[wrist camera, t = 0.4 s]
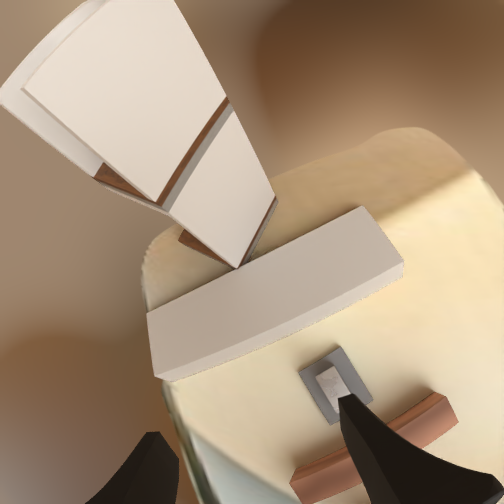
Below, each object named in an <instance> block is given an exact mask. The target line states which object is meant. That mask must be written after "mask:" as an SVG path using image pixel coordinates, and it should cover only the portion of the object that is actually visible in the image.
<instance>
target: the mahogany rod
mask: <svg viewBox="0 0 504 504" xmlns="http://www.w3.org/2000/svg"><path fill="white" fill-rule="evenodd" d="M457 423H459V422H458V420H457V417H456V415H455V413H454V411H453V409H452V407H451V405H450V403H449V401H448V399H447V397H446V396H444V395H441V394H439V393H436V392H433V393H432V394H431V395H429V396H428V397H426V398H425V399H424V400H422V401H421V402H419V403H418V404H417V405H415V406H414V407H412V408H411V409H409V410H408V411H406V412H405V413H403V414H402V415H400V416H399V417H397V418H395V419H394V420H392V421H391V422H389V423H387V424H386V425H387V426H388V427H390V428H391V429H392V430H393V431H395V432H396V433H397V434H399V435H400V436H402V437H403V438H404V439H406V440H407V441H409V442H410V443H412V444H413V445H415V446H417V447H419V448H420V449H422V448H424V447H425V446H427V445H428V444H430V443H431V442H433V441H434V440H436V439H437V438H438V437H440V436H441V435H443V434H444V433H445V432H447V431H448V430H449V429H451V428H452V427H453V426H455V425H456V424H457ZM360 483H362V479H361V477H360V475H359V473H358V471H357V469H356V467H355V465H354V462H353V460H352V458H351V456H350V454H349V452H348V449H347V446H346V447H344V448H342V449H340V450H338V451H336V452H334V453H332V454H330V455H328V456H326V457H323V458H321V459H319V460H317V461H315V462H312V463H310V464H308V465H305V466H303V467H300V468H298V469H296V470H295V472H294V474H293V476H292V479H291V481H290V483H289V484H290V485H291V487H292V488H293V490H294V491H295V493H296V495H297V496H298V498H299V499H300V501H301V502H302V504H313V503H315V502H318V501H321V500H323V499H326V498H328V497H331V496H333V495H336V494H338V493H340V492H343V491H345V490H347V489H349V488H352V487H354V486H356V485H358V484H360Z"/></svg>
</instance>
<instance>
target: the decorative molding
mask: <svg viewBox="0 0 504 504" xmlns="http://www.w3.org/2000/svg"><path fill="white" fill-rule="evenodd" d="M403 267H404V260H403V259H402V257H401V256H400V254H399V253H398V251H397V250H396V249H395V247H394V246H393V244H392V243H391V242H390V240H389V239H388V237H387V236H386V235H385V233H384V232H383V231H382V229H381V228H380V227H379V225H378V224H377V223H376V221H375V220H374V219H373V217H372V216H371V215H370V214H369V212H368V211H367V210H366V208H365V207H364V206H363V205H362V206H360V207H358V208H356V209H354V210H352V211H350V212H348V213H346V214H344V215H342V216H340V217H338V218H336V219H334V220H332V221H331V222H329V223H327V224H325V225H323V226H321V227H319V228H317V229H315V230H313V231H311V232H309V233H307V234H305V235H303V236H301V237H299V238H297V239H295V240H293V241H291V242H289V243H287V244H285V245H283V246H281V247H279V248H277V249H275V250H273V251H271V252H269V253H267V254H265V255H263V256H261V257H259V258H257V259H255V260H253V261H251V262H249V263H247V264H245V265H243V266H241V267H239V269H235V270H233V271H231V272H229V273H227V274H225V275H223V276H221V277H219V278H217V279H215V280H213V281H211V282H209V283H207V284H205V285H203V286H201V287H199V288H197V289H195V290H193V291H191V292H189V293H187V294H185V295H183V296H181V297H179V298H177V299H175V300H173V301H171V302H169V303H167V304H164V305H162V306H160V307H158V308H156V309H154V310H152V311H150V312H148V313H146V314H147V323H148V332H149V341H150V349H151V357H152V364H153V370H154V376H156V377H158V378H161V379H164V380H167V381H170V382H174V381H177V380H180V379H183V378H186V377H188V376H191V375H194V374H197V373H199V372H202V371H205V370H207V369H210V368H213V367H215V366H218V365H220V364H223V363H225V362H228V361H230V360H233V359H235V358H238V357H240V356H243V355H245V354H248V353H250V352H252V351H255V350H257V349H259V348H262V347H264V346H266V345H269V344H271V343H273V342H276V341H278V340H280V339H282V338H285V337H287V336H289V335H291V334H293V333H295V332H298V331H300V330H302V329H304V328H306V327H308V326H310V325H312V324H314V323H317V322H319V321H321V320H323V319H325V318H327V317H329V316H331V315H333V314H335V313H337V312H339V311H341V310H343V309H345V308H347V307H349V306H351V305H352V304H354V303H356V302H358V301H360V300H362V299H364V298H366V297H368V296H369V295H371V294H373V293H375V292H377V291H379V290H380V289H382V288H384V287H386V286H388V285H389V284H391V283H393V282H395V281H396V280H398V279H400V278H402V276H403Z"/></svg>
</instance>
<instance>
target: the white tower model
mask: <svg viewBox="0 0 504 504" xmlns="http://www.w3.org/2000/svg"><path fill="white" fill-rule="evenodd" d="M0 105H1V106H3V107H4V108H5V109H6V110H7V111H9V112H10V113H11V114H12V115H13V116H15V117H16V118H17V119H18V120H20V121H21V122H22V123H23V124H24V125H26V126H27V127H28V128H30V129H31V130H32V131H33V132H35V133H36V134H37V135H38V136H39V137H41V138H42V139H43V140H44V141H46V142H47V143H48V144H50V145H51V146H52V147H53V148H55V149H56V150H57V151H58V152H60V153H61V154H62V155H63V156H65V157H66V158H67V159H69V160H70V161H71V162H72V163H74V164H75V165H76V166H78V167H79V168H80V169H82V170H83V171H84V172H86V173H87V174H88V175H90V176H91V177H92V178H94V179H95V180H96V181H97V182H99V183H100V184H102V185H103V186H104V187H106V188H107V189H108V190H109V191H112V192H114V193H116V194H119V195H121V196H123V197H126V198H128V199H130V200H133V201H135V202H137V203H140V204H142V205H144V206H146V207H149V208H151V209H153V210H156V211H158V212H160V213H163V214H165V215H167V216H170V217H171V218H172V219H173V220H175V221H176V222H177V223H178V224H179V225H181V226H182V227H183V228H184V230H183V232H182V234H181V236H180V238H179V240H178V241H179V242H181V243H182V244H184V245H185V246H187V247H189V248H191V249H194V250H196V251H198V252H200V253H202V254H204V255H206V256H208V257H210V258H212V259H214V260H217V261H219V262H221V263H223V264H225V265H227V266H229V267H231V268H233V269H239V267H241V266H243V265H245V264H247V262H248V260H249V258H250V256H251V254H252V252H253V250H254V248H255V246H256V245H257V243H258V241H259V239H260V237H261V235H262V233H263V231H264V229H265V227H266V225H267V223H268V221H269V219H270V217H271V215H272V214H273V212H274V210H275V208H276V206H277V204H278V200H277V198H276V196H275V194H274V192H273V190H272V188H271V185H270V183H269V181H268V179H267V177H266V175H265V173H264V171H263V169H262V167H261V165H260V162H259V160H258V158H257V156H256V154H255V152H254V150H253V148H252V146H251V144H250V142H249V140H248V138H247V136H246V134H245V132H244V130H243V128H242V126H241V124H240V122H239V120H238V118H237V116H236V114H235V112H234V110H233V108H232V106H231V104H230V102H229V100H228V98H227V96H226V94H225V92H224V90H223V88H222V87H221V85H220V83H219V81H218V79H217V77H216V75H215V73H214V72H213V70H212V68H211V66H210V64H209V62H208V60H207V58H206V57H205V55H204V53H203V51H202V49H201V47H200V46H199V44H198V42H197V40H196V39H195V37H194V35H193V33H192V31H191V30H190V28H189V26H188V24H187V22H186V21H185V19H184V17H183V15H182V14H181V12H180V10H179V9H178V7H177V5H176V3H175V2H174V0H88V1H86V2H84V3H82V4H81V5H79V6H78V7H77V8H76V9H75V10H74V11H72V12H71V13H70V14H69V15H68V16H67V17H65V18H64V19H63V20H62V21H61V22H60V23H59V24H58V25H57V26H56V27H55V28H54V29H53V30H51V31H50V32H49V33H48V35H46V36H45V37H44V38H43V39H42V40H41V42H39V44H38V45H37V46H36V47H35V48H34V49H33V50H32V51H31V52H30V53H29V54H28V55H27V57H26V58H25V59H24V60H23V61H22V62H21V63H20V64H19V66H18V67H17V68H16V69H15V70H14V72H13V73H12V74H11V75H10V77H9V78H8V79H7V80H6V82H5V83H4V84H3V85H2V87H1V88H0Z"/></svg>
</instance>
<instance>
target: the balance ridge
mask: <svg viewBox="0 0 504 504" xmlns="http://www.w3.org/2000/svg"><path fill="white" fill-rule="evenodd" d="M298 373H299V375H300V376H301V378H302V380H303V381H304V383H305V385H306V386H307V388H308V390H309V391H310V393H311V395H312V396H313V398H314V400H315V401H316V403H317V405H318V406H319V408H320V410H321V411H322V413H323V415H324V416H325V418H326V420H327V421H328V423H329V425H332V424H334V423H336V422H338V421H339V420H340V415H339V406H338V398H340V397H343V396H346V395H349V394H352V393H353V394H356V396H357V397H358V398H359V399H360V400H361V401H362V402H363V403H364V404H365V405H366V404H368V403H370V402H371V401H373V398H372V397H371V395H370V393H369V392H368V390H367V388H366V387H365V385H364V383H363V382H362V380H361V378H360V377H359V375H358V373H357V372H356V370H355V368H354V367H353V365H352V364H351V362H350V360H349V359H348V357H347V355H346V354H345V352H344V351H343V349H342V347H339V348H338V349H336V350H335V351H333V352H332V353H330V354H328V355H327V356H325V357H323V358H322V359H320V360H319V361H317V362H315V363H314V364H312V365H310V366H309V367H307V368H305V369H303V370H302V371H300V372H298Z"/></svg>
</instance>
